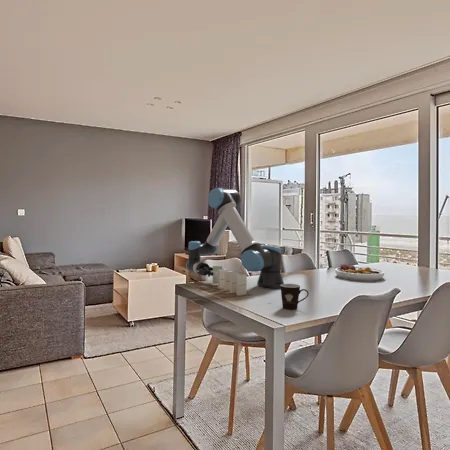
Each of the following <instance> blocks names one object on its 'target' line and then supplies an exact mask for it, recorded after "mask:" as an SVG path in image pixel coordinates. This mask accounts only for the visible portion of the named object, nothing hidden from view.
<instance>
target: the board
mask: <svg viewBox="0 0 450 450" xmlns="http://www.w3.org/2000/svg"><path fill="white" fill-rule="evenodd" d="M194 288H195V289H198V290H200V291H203V292H205V293H207V294H211V295H212V296H215V297H218V298H220V299H223V300H227V299H233V298H241V297H247V296H248V297H249V296H253V294H250V293H248V292H247V293H246V294H245V295H237V293H230V290H229V291H224V288H223V289H219V288H218V284H212V285H205V286H202V285H201V286H196V287H194Z"/></svg>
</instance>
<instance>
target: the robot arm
mask: <svg viewBox="0 0 450 450" xmlns="http://www.w3.org/2000/svg"><path fill="white" fill-rule="evenodd" d="M207 203H208V205H209V207H210V208H212V209H215V210H216V212H217V214H218V215H219V216H218V217H217V220H216V222H215V223H214V226H213V228H212V229H211V230H210V233H209V235H208V236H207V238H206V241H204V243H202V242H201V241H200V240H194V241H193V240H191V241H189V242H188V248H187V249H188V250H187V251H188V260H187V261H186V263H185V267H186V269H187V271H189V272H190V273H194V274H197V275H199V276H207V277H212V278H213V277H217V274H218V272H214V271H213V266H210V265H209V264H208V263H206V262H204V261H203V262H202V261H201V259H202V258H201V256H211V255H214V254H216V253H217V252H218V244H219V242H220V240H221V238H222V237H223V236H224V233H225V231H226V229H228V228H229V229H230V231H231V233H232V235H233V236H234V239H235V240H236V242H237V244H238V246H239V248H240V255H241V256H240V262H241V265H242V267H243V269H245V270H246V271H247V272H250V273H254V272H255V273H257V272H260V273H259V276H258V279H257V283H256V284H257V287H260V288H263V289H266V290H281V286H280V285H281V284H285V283H284V279H283V276H282V249H281V248H280V247H279V246H269V245H261V243H260V242H257V241H255V239H254V237H253V235H252V234H251V232H250V231H249V229H248V227H247V225H246V224H245V222H244V220H243V218H242V216H241V215H240V213H239V210H240V206H241V203H242V198H241V195H240V193H239V192H238V191H237V190H236V189H233V188H223V187H218V188H217V187H215V188H213V189H212V190H210V192H209V194H208V198H207ZM227 227H228V228H227ZM222 270H225V269H223V268H222Z"/></svg>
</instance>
